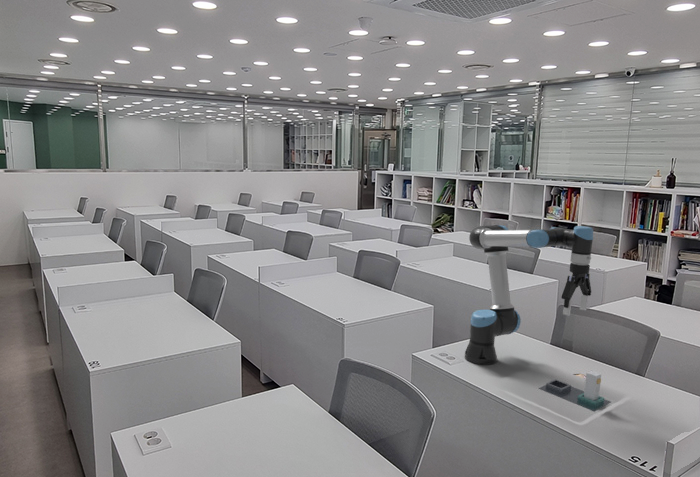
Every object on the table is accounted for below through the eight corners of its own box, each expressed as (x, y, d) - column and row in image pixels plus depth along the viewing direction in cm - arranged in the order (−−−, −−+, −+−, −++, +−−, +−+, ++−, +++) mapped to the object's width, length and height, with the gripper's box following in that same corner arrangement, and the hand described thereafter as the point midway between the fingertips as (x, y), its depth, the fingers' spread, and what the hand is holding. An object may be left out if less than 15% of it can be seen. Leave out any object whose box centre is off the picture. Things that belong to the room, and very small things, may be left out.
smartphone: (587, 391, 220) (567, 376, 235) (603, 390, 222) (582, 375, 236) (587, 389, 220) (567, 374, 235) (603, 388, 221) (582, 373, 236)
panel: (538, 390, 218) (538, 383, 217) (555, 382, 226) (556, 376, 226) (593, 413, 199) (594, 406, 199) (611, 404, 208) (611, 397, 207)
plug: (583, 400, 208) (586, 372, 206) (588, 398, 210) (591, 370, 208) (594, 405, 204) (597, 376, 202) (599, 402, 206) (602, 374, 205)
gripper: (573, 268, 205) (567, 319, 209) (603, 262, 221) (597, 310, 224) (555, 264, 211) (550, 314, 215) (586, 259, 227) (581, 305, 230)
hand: (574, 312), depth 219 cm, fingers open, 13 cm apart
